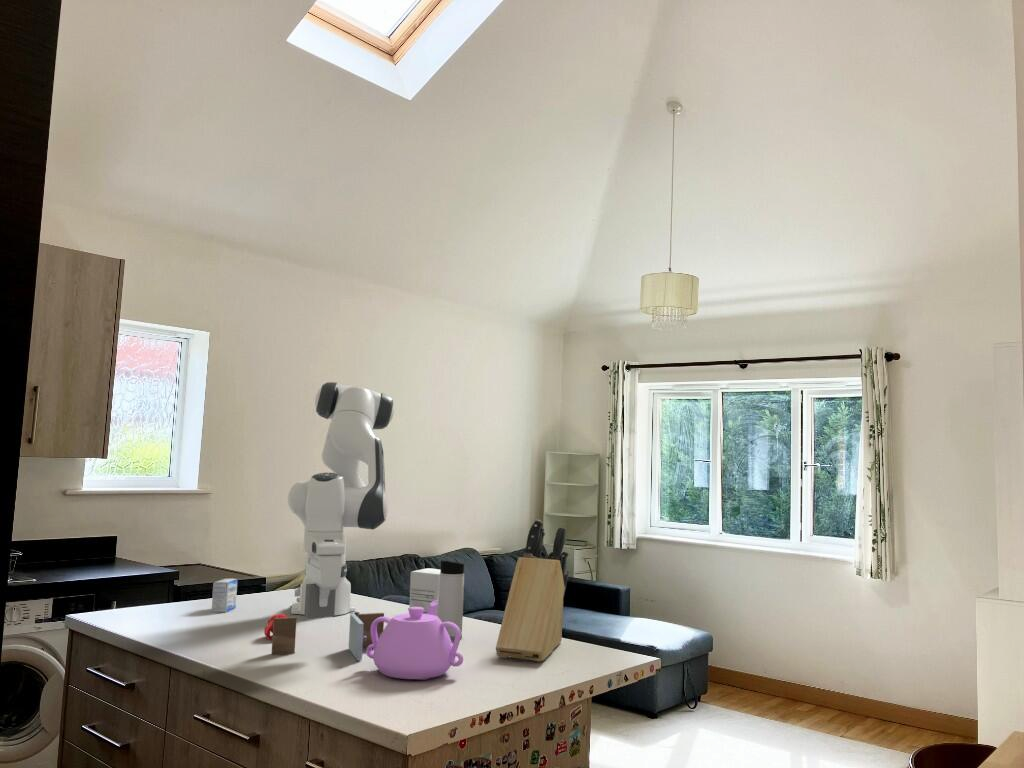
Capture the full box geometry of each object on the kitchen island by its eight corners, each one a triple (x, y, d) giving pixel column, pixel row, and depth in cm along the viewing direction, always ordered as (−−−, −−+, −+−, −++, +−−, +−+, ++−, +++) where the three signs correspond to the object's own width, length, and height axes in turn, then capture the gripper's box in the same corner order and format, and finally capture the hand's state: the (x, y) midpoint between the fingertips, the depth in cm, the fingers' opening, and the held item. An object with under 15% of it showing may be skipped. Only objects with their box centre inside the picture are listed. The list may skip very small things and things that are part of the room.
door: (347, 647, 191) (349, 613, 192) (357, 646, 192) (358, 612, 193) (357, 660, 179) (359, 623, 180) (367, 659, 180) (368, 623, 181)
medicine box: (226, 613, 231) (228, 582, 232) (210, 612, 231) (213, 581, 232) (236, 608, 239) (238, 578, 240) (221, 607, 239) (223, 578, 240)
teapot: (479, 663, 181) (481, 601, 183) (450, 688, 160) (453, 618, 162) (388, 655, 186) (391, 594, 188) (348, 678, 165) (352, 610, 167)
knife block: (569, 635, 215) (572, 519, 218) (541, 666, 181) (545, 527, 184) (529, 632, 217) (532, 517, 221) (494, 661, 184) (498, 525, 187)
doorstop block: (304, 615, 184) (306, 584, 185) (330, 613, 186) (332, 583, 187) (307, 618, 180) (309, 586, 181) (334, 616, 183) (335, 585, 184)
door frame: (271, 653, 184) (273, 615, 185) (381, 646, 195) (382, 610, 196) (272, 654, 183) (274, 616, 184) (382, 647, 194) (384, 611, 195)
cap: (295, 627, 198) (297, 611, 203) (272, 620, 196) (275, 604, 201) (282, 650, 200) (285, 633, 206) (259, 643, 199) (262, 626, 204)
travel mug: (431, 638, 206) (434, 559, 208) (450, 635, 211) (453, 557, 213) (447, 642, 202) (451, 562, 204) (466, 639, 206) (469, 560, 208)
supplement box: (424, 620, 229) (426, 567, 230) (451, 624, 225) (453, 570, 226) (407, 626, 221) (409, 570, 222) (435, 629, 217) (437, 573, 218)
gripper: (301, 539, 193) (297, 597, 192) (318, 547, 175) (315, 612, 173) (327, 539, 196) (324, 596, 194) (347, 547, 177) (344, 611, 176)
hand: (320, 604), depth 184 cm, fingers closed on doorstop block, 4 cm apart
